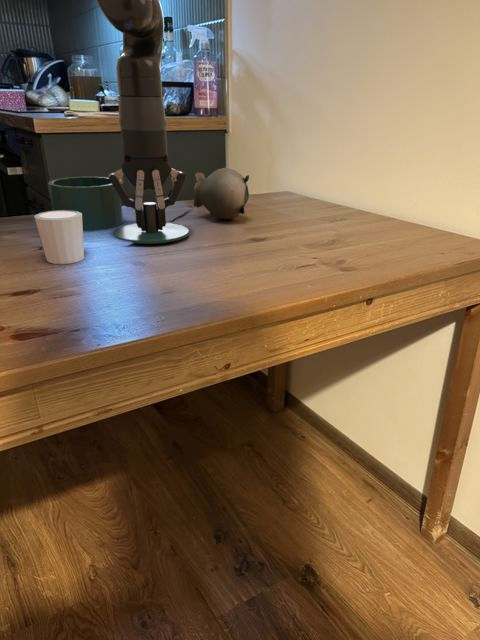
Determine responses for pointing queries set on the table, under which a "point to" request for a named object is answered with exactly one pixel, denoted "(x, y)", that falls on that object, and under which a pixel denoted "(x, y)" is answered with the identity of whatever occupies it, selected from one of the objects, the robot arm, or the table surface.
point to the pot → (88, 200)
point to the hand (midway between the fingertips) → (151, 229)
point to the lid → (151, 229)
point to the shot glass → (61, 236)
